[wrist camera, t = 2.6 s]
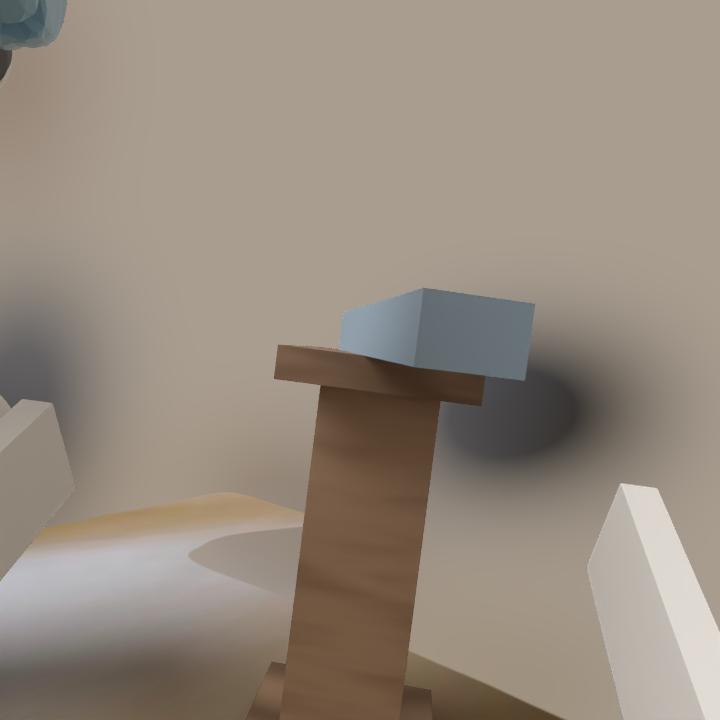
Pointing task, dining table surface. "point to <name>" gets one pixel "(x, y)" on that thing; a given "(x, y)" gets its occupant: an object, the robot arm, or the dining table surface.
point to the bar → (443, 332)
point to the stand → (360, 537)
